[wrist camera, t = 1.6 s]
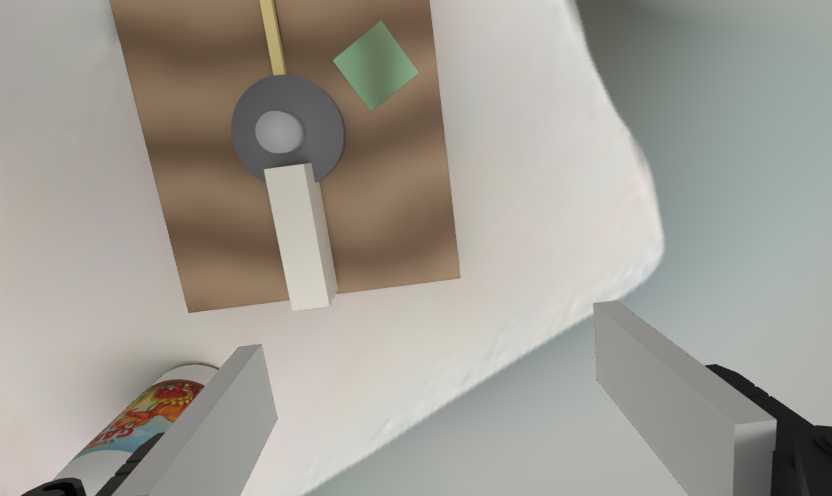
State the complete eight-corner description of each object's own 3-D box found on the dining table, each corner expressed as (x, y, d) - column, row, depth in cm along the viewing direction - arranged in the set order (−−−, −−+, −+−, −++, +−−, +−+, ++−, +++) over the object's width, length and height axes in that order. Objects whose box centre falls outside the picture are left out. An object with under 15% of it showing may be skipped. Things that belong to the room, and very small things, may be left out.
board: (124, -7, 31) (104, -17, 28) (421, -48, 30) (422, -62, 28) (200, 303, 35) (187, 313, 33) (457, 270, 35) (460, 278, 33)
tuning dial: (207, -16, 28) (177, -41, 24) (319, -32, 28) (306, -59, 24) (273, 297, 33) (255, 316, 29) (369, 285, 33) (364, 303, 29)
